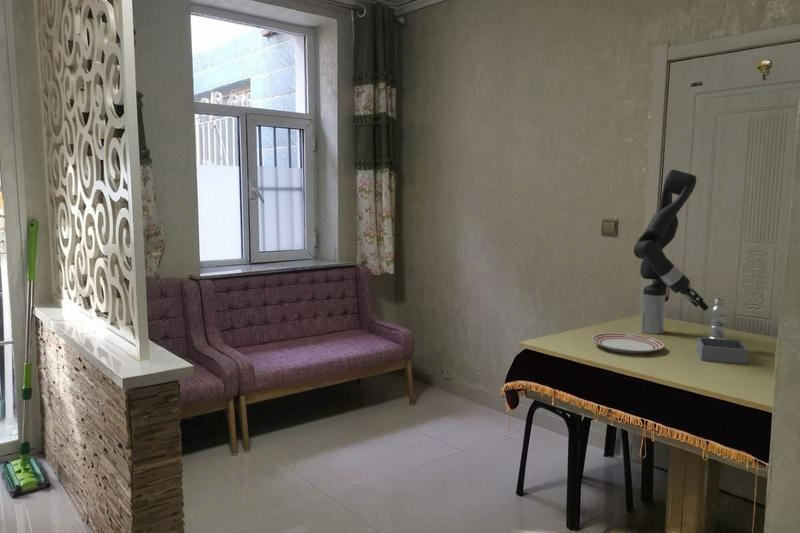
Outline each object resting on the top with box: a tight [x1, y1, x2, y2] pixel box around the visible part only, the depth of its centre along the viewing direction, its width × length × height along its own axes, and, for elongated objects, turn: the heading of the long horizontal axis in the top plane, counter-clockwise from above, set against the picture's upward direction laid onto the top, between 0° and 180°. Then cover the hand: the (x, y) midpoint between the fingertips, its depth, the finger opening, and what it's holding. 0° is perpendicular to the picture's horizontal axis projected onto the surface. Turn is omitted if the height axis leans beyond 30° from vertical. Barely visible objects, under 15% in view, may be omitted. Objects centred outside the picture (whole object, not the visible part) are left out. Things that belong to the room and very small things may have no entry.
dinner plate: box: [591, 332, 665, 355], centre depth 243 cm, size 28×27×3 cm
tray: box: [696, 337, 749, 365], centre depth 229 cm, size 15×15×6 cm
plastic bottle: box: [707, 297, 729, 339], centre depth 242 cm, size 6×7×20 cm
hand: (702, 307), depth 242 cm, fingers open, 8 cm apart
